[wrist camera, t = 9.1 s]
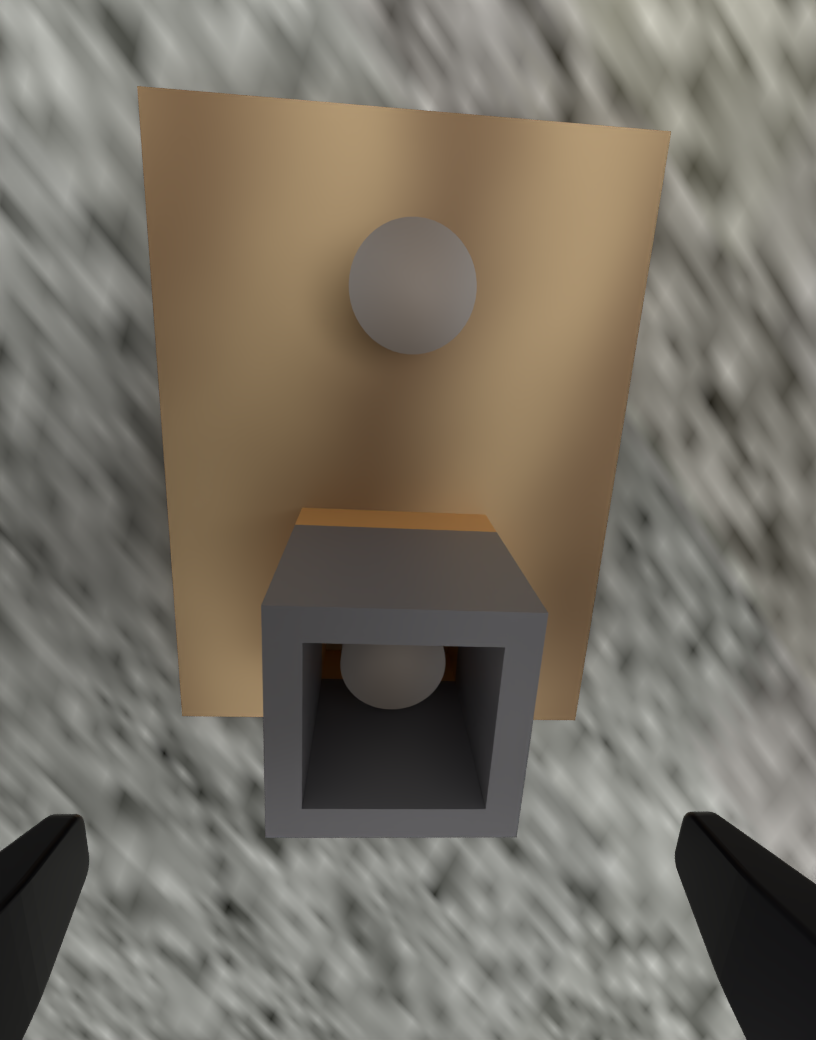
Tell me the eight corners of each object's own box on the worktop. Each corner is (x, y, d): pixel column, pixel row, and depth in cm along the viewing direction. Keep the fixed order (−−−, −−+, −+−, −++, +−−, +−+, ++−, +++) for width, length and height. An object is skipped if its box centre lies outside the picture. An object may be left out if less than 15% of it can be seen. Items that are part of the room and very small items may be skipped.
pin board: (651, 145, 14) (769, 62, 10) (564, 701, 19) (620, 806, 15) (153, 103, 14) (51, -6, 9) (192, 696, 18) (136, 806, 14)
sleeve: (469, 673, 17) (516, 837, 12) (301, 670, 17) (265, 837, 11) (485, 514, 16) (548, 612, 10) (302, 507, 16) (261, 605, 10)
